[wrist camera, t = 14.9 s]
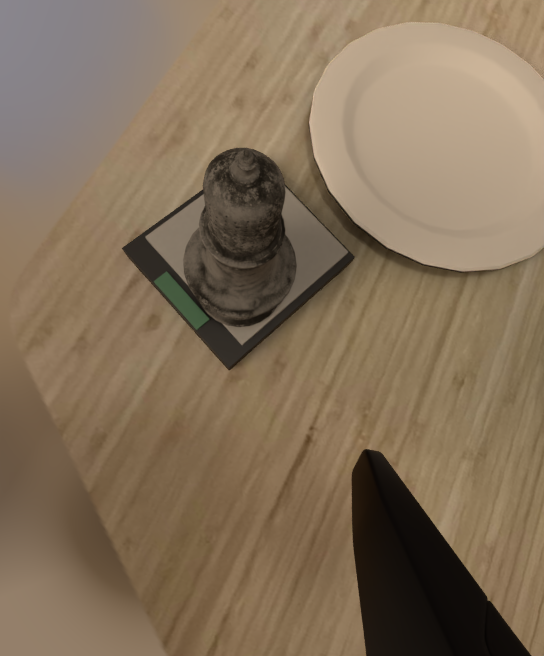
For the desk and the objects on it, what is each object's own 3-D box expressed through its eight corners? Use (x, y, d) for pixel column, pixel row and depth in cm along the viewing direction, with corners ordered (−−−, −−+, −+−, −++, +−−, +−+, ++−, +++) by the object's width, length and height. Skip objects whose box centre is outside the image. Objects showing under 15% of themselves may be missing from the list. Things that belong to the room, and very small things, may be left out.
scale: (229, 370, 23) (228, 368, 21) (127, 255, 24) (119, 245, 22) (349, 263, 25) (357, 254, 24) (253, 163, 26) (254, 147, 24)
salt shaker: (237, 352, 21) (242, 287, 10) (170, 281, 22) (97, 138, 10) (306, 288, 23) (383, 162, 11) (241, 222, 23) (250, 36, 11)
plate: (611, 167, 29) (634, 152, 28) (455, 339, 25) (471, 334, 23) (425, 0, 31) (436, -23, 29) (246, 132, 26) (247, 113, 25)
